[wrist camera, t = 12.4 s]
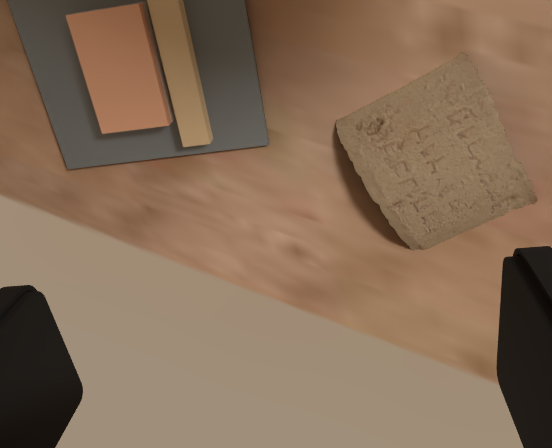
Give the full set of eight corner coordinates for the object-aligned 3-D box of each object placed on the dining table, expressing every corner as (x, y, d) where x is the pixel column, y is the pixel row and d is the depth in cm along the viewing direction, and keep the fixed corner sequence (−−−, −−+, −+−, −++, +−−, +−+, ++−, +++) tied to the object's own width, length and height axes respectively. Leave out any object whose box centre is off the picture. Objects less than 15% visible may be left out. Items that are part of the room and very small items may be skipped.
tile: (146, 1, 34) (76, 12, 35) (138, 3, 33) (65, 15, 33) (174, 119, 38) (110, 127, 38) (168, 125, 36) (102, 134, 37)
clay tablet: (539, 202, 39) (552, 218, 37) (416, 260, 42) (422, 278, 40) (455, 33, 34) (464, 39, 32) (324, 114, 38) (324, 124, 35)
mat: (-25, -97, 33) (-41, -100, 31) (220, -149, 30) (214, -155, 29) (70, 167, 41) (60, 175, 39) (269, 143, 38) (266, 150, 37)
